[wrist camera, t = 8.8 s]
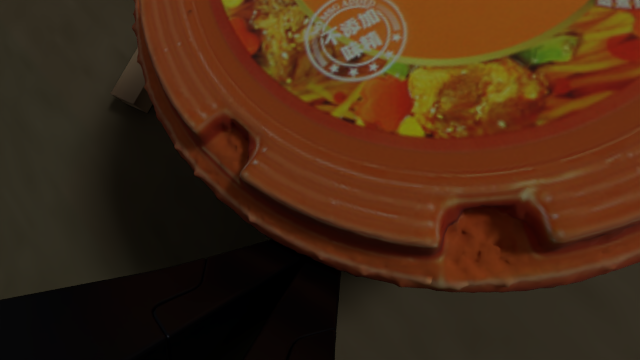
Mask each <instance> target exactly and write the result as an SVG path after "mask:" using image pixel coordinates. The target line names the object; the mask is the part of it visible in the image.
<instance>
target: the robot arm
mask: <svg viewBox="0 0 640 360" xmlns="http://www.w3.org/2000/svg"><path fill="white" fill-rule="evenodd" d="M340 277H341V271H339V270H337V269H335V268H332V267H330V266H327V265H325V264H323V263H321V262H318V261H315V260H313V259H312V258H311V257H308V256H306V255H304V254H299V253H297V252H296V251H295V250H292V249H290V248H288V247H286V246H284V245H282V244H280V243H278V242H276V241H274V240H273V239H272V240H268V241H265V242H261V243H257V244H254V245H250V246H247V247H243V248H240V249H236V250H233V251H229V252H226V253H222V254H218V255H215V256H211V257H208V258H207V259H205V258H202V259H199V260H195V261H192V262H188V263H184V264H180V265H176V266H172V267H168V268H164V269H159V270H154V271H149V272H145V273H139V274H134V275H129V276H123V277H118V278H113V279H108V280H102V281H97V282H92V283H87V284H81V285H76V286H71V287H65V288H60V289H55V290H50V291H44V292H39V293H34V294H29V295H23V296H18V297H13V298H7V299H2V300H0V360H335V342H336V326H337V314H338V301H339V289H340Z"/></svg>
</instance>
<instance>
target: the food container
mask: <svg viewBox="0 0 640 360" xmlns="http://www.w3.org/2000/svg"><path fill="white" fill-rule="evenodd" d="M134 2H135V11H134V14H133V15H134V17H135V23H134V25H133V26H132V29H133V31H134V32H135V34H136V37H137V43H138V51H139V52H138V56H137V62H138V63H139V64H140V65H141V68H142V71H143V76H144V78H145V86H144V88H145V90H146V91H147V92H148V95H149V97H150V100H151V102H152V103H153V105H154V110H155V111H156V117H157V119H158V120H159V121H160V122H161V123H162V125H163V127H164V129H165V130H166V132H167V134H168V135H169V137H170V139H171V141H172V142H173V144H174V147H175V149H176V150H177V151H178V152H179V154H180V155H181V158H183V159H185V160H186V161H187V163H188V164H189V165H190V167H191V168H192V170H193V171H194V175H195V176H196V177H198V178H200V179H201V180H202V181H203V182H204V183H205V184H206V185H207V186H208V187H209V188H210V189H211V190H212V191H213V192H214V194H215V195H216V197H217V199H218V200H220V201H222V202H223V203H224V204H226V205H227V206H229V207H230V208H232V209H233V210H234V211H235V212H236V213H237V214H238V215H239V216H240V217H241V218H242V219H243V220H244V221H246V222H247V223H249V224H251V225H252V226H254V227H255V228H256V229H257V230H258V231H259V232H260V233H262V234H264V235H266V236H267V237H269V238H271V239H273V240H274V241H276V242H278V243H280V244H282V245H284V246H286V247H288V248H290V249H292V250H295V251H296V252H297V253H299V254H304V255H306V256H308V257H311V258H312V259H313V260H315V261H318V262H321V263H323V264H325V265H327V266H330V267H332V268H335V269H337V270H339V271H346V272H348V273H350V274H352V275H354V276H356V277H366V278H370V279H374V280H379V281H384V282H388V283H393V284H395V285H397V286H399V287H412V288H428V289H432V290H436V291H447V292H471V293H475V292H510V291H528V290H533V289H538V288H552V287H556V286H559V285H567V284H571V283H576V282H581V281H584V280H587V279H589V278H592V277H595V276H598V275H602V274H606V273H608V272H611V271H615V270H618V269H621V268H624V267H626V266H629V265H632V264H635V263H638V262H640V0H134Z"/></svg>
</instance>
